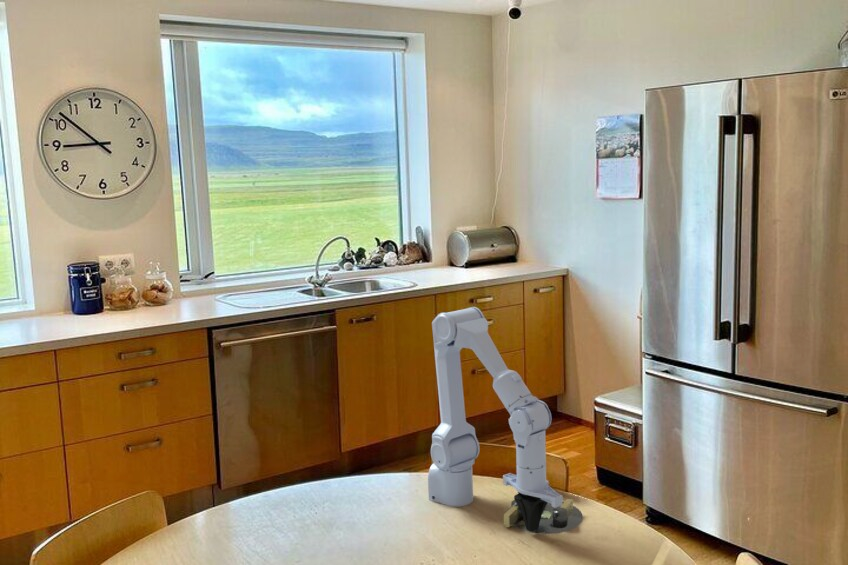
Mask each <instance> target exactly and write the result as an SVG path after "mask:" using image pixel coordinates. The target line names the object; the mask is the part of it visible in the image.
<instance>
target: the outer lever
mask: <svg viewBox="0 0 848 565" xmlns="http://www.w3.org/2000/svg"><path fill="white" fill-rule="evenodd" d="M563 502H564V503H563V504H562V505H561V507H560V508H554V509H553V510H552V518H553V525H554V526H556V527H566V526H567V525H568V516H569V515H570V514H571V512H572V511H573V506H574V500H573V499H570V498H566V500H564V501H563Z"/></svg>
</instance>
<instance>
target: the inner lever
mask: <svg viewBox="0 0 848 565" xmlns="http://www.w3.org/2000/svg"><path fill="white" fill-rule="evenodd" d="M510 506H511V508H510V509H509V510H508V511H507V512H506V511H505V512H506V513H505V512H504V514H503V526H504V527H507V528H511V526H512V524H513V523H514V522H515V521H516V520H517V519H522V518H523V516H522V513H521V510H520V508H519V506H518V504H517V503H516V501H515V500H514V499H513V500H511V502H510Z"/></svg>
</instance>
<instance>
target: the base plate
mask: <svg viewBox="0 0 848 565" xmlns="http://www.w3.org/2000/svg"><path fill="white" fill-rule="evenodd" d="M564 502H565V501H562V504H563V503H564ZM560 507H561V506H559V507H556V508H560ZM510 508H511V505H510V506H509V507H508V508H507V509H506V511H505V512H504V514H505V513H506V512H507V511H508V510H509V509H510ZM553 509H554V507H552V504H550V503H547V505H546V506H545V508H544V511H543V513H542V516H541V519H540V523H539V528H538V529H537V530H535V531H532V532H530V531H528V530H527V529H526V526H525V522H524V519H523V518H522V519H517V520H516V521H515V522H514V523H513V524H512V525H511V526H512V527H514V528H516V529H518V530H520V531H523V532H527V533H532V534H540V535H542V534H545V535H548V534H549V535H551V534H552V535H553V534H561V533H566V532H568V531H571V530H574V529H576V528H577V527H578V526H580V525H581V523H582V522H583V520H584V515H583V513H582V511H581V510H580V509H579V508H578V507H576V506H574V505H573V511H572V512H571V514H570V515H569V516H568V525H567V526H566V527H556V526H554V525H553V518H552V510H553Z"/></svg>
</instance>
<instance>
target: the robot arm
mask: <svg viewBox="0 0 848 565" xmlns="http://www.w3.org/2000/svg"><path fill="white" fill-rule="evenodd" d="M431 328H432V329H431V330H432V337H433V338H432V339H433V349H434V360H435V361H434V362H435V371H436V372H435V374H436V381H437V393H438V402H439V404H438V405H439V414H440V424H439V425H438V426H437V427H436V429H435V430H434V432H432V435H431V441H432V442H431V447H430V457H431V460H432V462H433V463H432V464H431V465H430V467H429V470H428V474H427V487H428V488H427V489H428V490H427V491H428V492H427V493H428V501H432V502H435V503H440V504H443V505H445V506H449V507H464V506H468V505H470V504H471V503H473V501H474V484H473V482H474V481H473V476H474V475H473V465H475V464H476V462H475V459H477V458H478V456H479V455H480V443H479V440H478V438H477V436H476V428H475V427H474V426H473V425H471V424H470V423H468V422H467V418H466V410H465V409H466V408H465V396H464V386H463V384H464V383H463V374H462V363H461V362H462V361H461V354H460V353H461V350H462V349H463V348H465V349H468V350H469V349H470V350H471V351H473V352H474V354H475V356H476V357H477V358H478V359H479V361H480V362H481V364H482V365H483V366H484V368H485V369H486V370H487V372H489V374H490V375H491V377H492V378H493V381H492V388H493V390H494V393H496V395H497V396H498V399H499V400H500V401H501V403H502V404H503V406H504V408H505V409H506V411H507V412H508V413H509V415H510V417H509V418H508V424H509V428H510V429H511V431H512V434H513V440H514V443H515V451H516V452H515V454H516V456H515V457H516V458H515V459H516V460H515V462H516V464H515V465H516V474H513V473H512V472H509V473H506V474H503V475H502V484H503V485H504V486H509V487H512V488H514V489H515V490H516V491H517V493H516V494H515V495H514V496H513V498H514V499H513V500H515V501H516V503H517V504H518V506H519V508H520V510H521V513H522V516H523V519H524V522H525V526H526V529H527V530H528V531H530V532H529V533H532V531H535V530H537V529H538V528H539V523H540V519H541V516H542V513H543V511H544V508H545V506H546V505H547V503H550V504H552V507H554V508H556V507H559V506H561V505H562V502H563V495H562V494H560V493H558V492H557V491H555V489H554V488H552V487H551V486H550V485H549V484H550V482H549V480H548V479H547V454H546V453H547V447H546V439H547V438H546V429H549V427H550V426H551V424H552V413H551V410H550V409H549V406H548V404H547V403H546V402H545V401H543V400H540V399H539V398H538V397H537V396H535V395H533V394H532V393H531V391H530V389H529V388H528V387H527V385H526V384H525V382H524V380H523V378H522V376H521V375H520V374H519V373H518V372H517V371H516V370H512V369H509V368H508V366H507V365H506V363H505V361H504V359H503V358H502V356H501V354H500V352H499V350H498V348H497V346H496V345H495V343H494V341H493V339H492V338H491V336H490V334H489V322H488V319H487V318H485V316H484V313H483V312H482V311H481V309H480V308H479V307H476V306H471V307H467V308H463V309H459V310H455V311H454V310H453V311H449V312H440V313H438V314H437V315H436V316H435V318H434V319H433V320H432V322H431ZM518 492H519V493H518Z"/></svg>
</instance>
